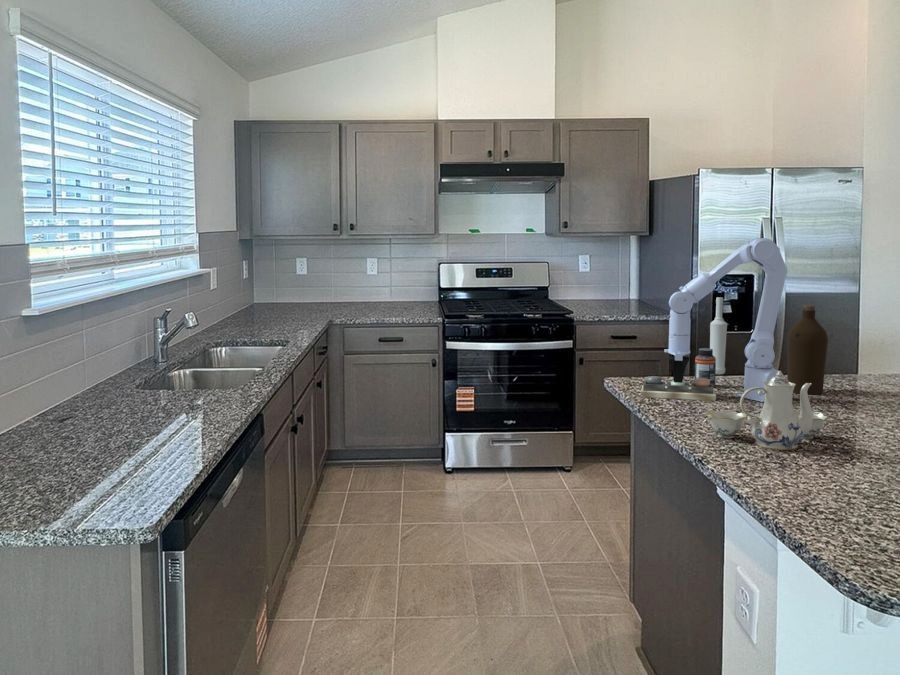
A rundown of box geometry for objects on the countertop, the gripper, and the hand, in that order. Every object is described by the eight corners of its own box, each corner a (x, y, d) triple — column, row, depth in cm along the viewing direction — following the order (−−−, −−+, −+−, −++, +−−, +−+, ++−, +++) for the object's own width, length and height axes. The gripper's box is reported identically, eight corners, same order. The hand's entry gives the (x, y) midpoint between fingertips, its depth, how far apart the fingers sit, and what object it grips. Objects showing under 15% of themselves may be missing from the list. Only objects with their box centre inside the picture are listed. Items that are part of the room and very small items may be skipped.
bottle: (713, 371, 258) (715, 296, 255) (728, 373, 255) (730, 297, 252) (705, 373, 255) (708, 297, 252) (720, 375, 251) (723, 298, 248)
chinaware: (815, 438, 178) (815, 366, 177) (856, 450, 161) (856, 371, 161) (695, 440, 177) (695, 367, 176) (724, 452, 160) (723, 372, 160)
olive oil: (824, 396, 216) (829, 307, 213) (783, 393, 221) (787, 306, 218) (825, 390, 225) (830, 304, 222) (785, 387, 230) (789, 303, 227)
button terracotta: (709, 385, 218) (709, 378, 218) (709, 388, 214) (710, 381, 214) (694, 384, 219) (694, 377, 219) (694, 387, 215) (694, 380, 215)
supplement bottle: (698, 383, 237) (700, 347, 235) (718, 385, 233) (719, 348, 232) (691, 386, 232) (692, 349, 231) (710, 388, 228) (712, 350, 227)
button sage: (685, 388, 220) (685, 381, 220) (685, 390, 216) (685, 383, 216) (670, 387, 221) (670, 380, 221) (670, 389, 217) (670, 382, 217)
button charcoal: (661, 383, 222) (661, 376, 221) (661, 385, 218) (661, 378, 218) (647, 382, 223) (647, 375, 223) (646, 385, 219) (646, 378, 219)
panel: (714, 393, 221) (714, 382, 220) (715, 400, 211) (716, 388, 211) (642, 390, 226) (642, 379, 226) (640, 397, 217) (640, 385, 217)
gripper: (665, 331, 225) (664, 377, 226) (664, 337, 211) (662, 386, 213) (690, 331, 223) (689, 378, 224) (691, 338, 209) (689, 387, 211)
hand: (678, 382), depth 218 cm, fingers closed, pressing on button sage
